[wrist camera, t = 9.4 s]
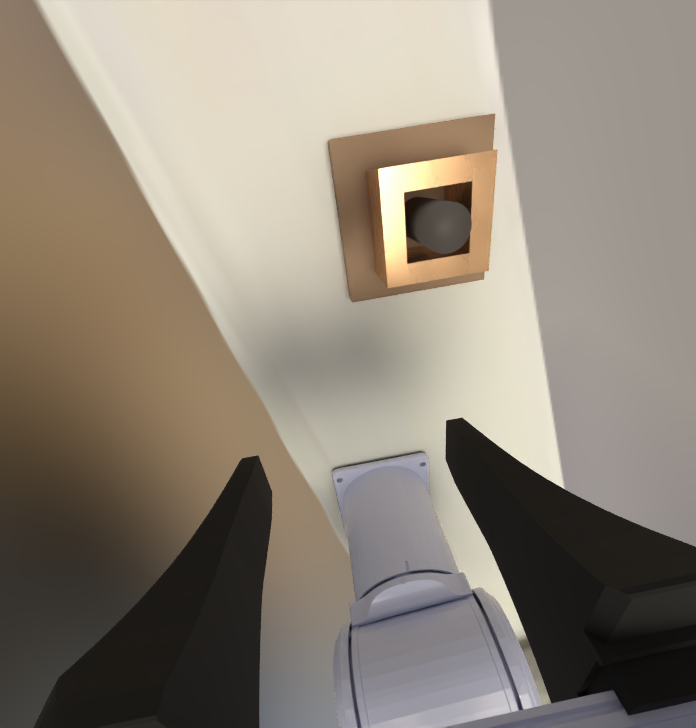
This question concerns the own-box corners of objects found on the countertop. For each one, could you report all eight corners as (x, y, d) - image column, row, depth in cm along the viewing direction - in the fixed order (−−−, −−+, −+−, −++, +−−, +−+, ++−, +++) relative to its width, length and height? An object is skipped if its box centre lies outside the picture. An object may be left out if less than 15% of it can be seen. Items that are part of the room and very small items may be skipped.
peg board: (476, 275, 20) (528, 303, 16) (349, 297, 20) (364, 333, 15) (485, 116, 16) (558, 91, 12) (327, 141, 16) (337, 126, 11)
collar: (461, 257, 19) (488, 270, 16) (375, 272, 19) (387, 288, 16) (464, 154, 16) (497, 149, 14) (365, 170, 16) (378, 168, 13)
